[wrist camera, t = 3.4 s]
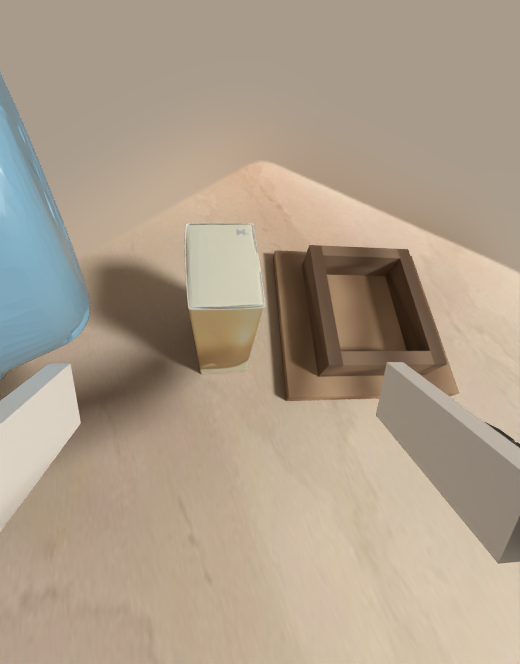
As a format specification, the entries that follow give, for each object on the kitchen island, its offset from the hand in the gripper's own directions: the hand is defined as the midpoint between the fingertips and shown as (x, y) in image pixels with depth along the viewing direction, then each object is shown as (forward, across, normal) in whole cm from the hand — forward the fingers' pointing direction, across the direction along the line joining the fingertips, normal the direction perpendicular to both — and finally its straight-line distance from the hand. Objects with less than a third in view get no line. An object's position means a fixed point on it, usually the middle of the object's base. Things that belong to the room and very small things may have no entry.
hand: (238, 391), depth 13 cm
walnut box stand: (+17, +13, -2) cm, 21 cm away
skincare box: (+15, -1, -4) cm, 16 cm away
